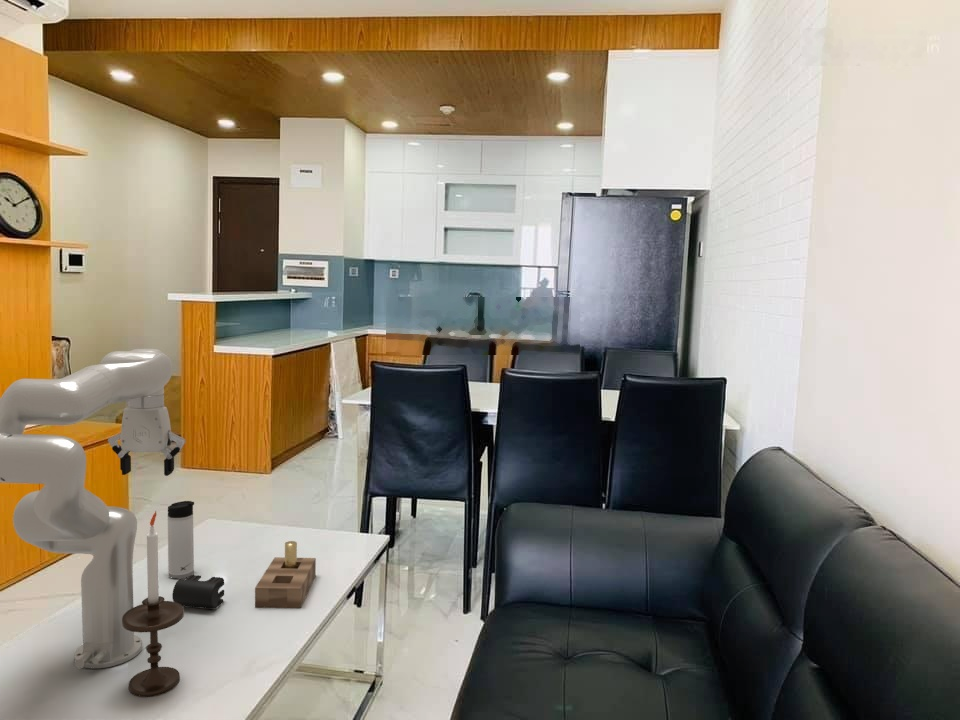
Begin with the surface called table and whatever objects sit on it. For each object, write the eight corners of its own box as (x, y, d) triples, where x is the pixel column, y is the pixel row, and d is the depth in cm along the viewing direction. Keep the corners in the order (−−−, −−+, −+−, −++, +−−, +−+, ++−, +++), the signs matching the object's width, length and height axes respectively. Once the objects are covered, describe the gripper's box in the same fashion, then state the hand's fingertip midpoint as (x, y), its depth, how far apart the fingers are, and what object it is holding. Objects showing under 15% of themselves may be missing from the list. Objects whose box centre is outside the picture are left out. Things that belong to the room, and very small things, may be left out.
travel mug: (188, 579, 182) (188, 506, 180) (164, 578, 183) (163, 505, 180) (199, 570, 189) (198, 499, 187) (175, 569, 189) (174, 498, 187)
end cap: (172, 611, 165) (171, 584, 165) (188, 598, 172) (187, 572, 172) (211, 615, 164) (211, 587, 164) (226, 601, 171) (225, 575, 171)
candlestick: (193, 668, 141) (191, 502, 138) (171, 700, 130) (168, 521, 127) (139, 667, 141) (136, 501, 137) (112, 699, 130) (108, 519, 126)
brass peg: (295, 585, 181) (295, 545, 180) (283, 585, 181) (283, 545, 180) (297, 581, 184) (297, 541, 183) (286, 580, 184) (286, 541, 183)
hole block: (300, 608, 169) (300, 588, 168) (255, 607, 168) (255, 587, 168) (315, 575, 188) (315, 557, 187) (274, 575, 187) (274, 557, 187)
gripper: (100, 403, 156) (101, 477, 158) (177, 405, 157) (178, 479, 159) (115, 398, 164) (117, 468, 166) (190, 400, 165) (190, 470, 166)
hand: (147, 473), depth 162 cm, fingers open, 9 cm apart
